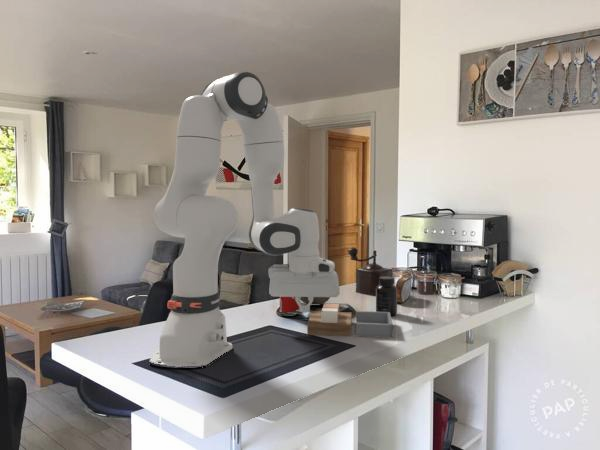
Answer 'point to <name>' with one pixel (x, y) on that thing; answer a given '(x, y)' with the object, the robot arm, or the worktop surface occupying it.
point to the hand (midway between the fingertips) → (304, 311)
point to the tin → (403, 289)
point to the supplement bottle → (386, 296)
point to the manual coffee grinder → (368, 274)
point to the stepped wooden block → (330, 325)
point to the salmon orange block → (332, 306)
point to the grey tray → (374, 324)
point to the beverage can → (288, 304)
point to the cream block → (329, 315)
